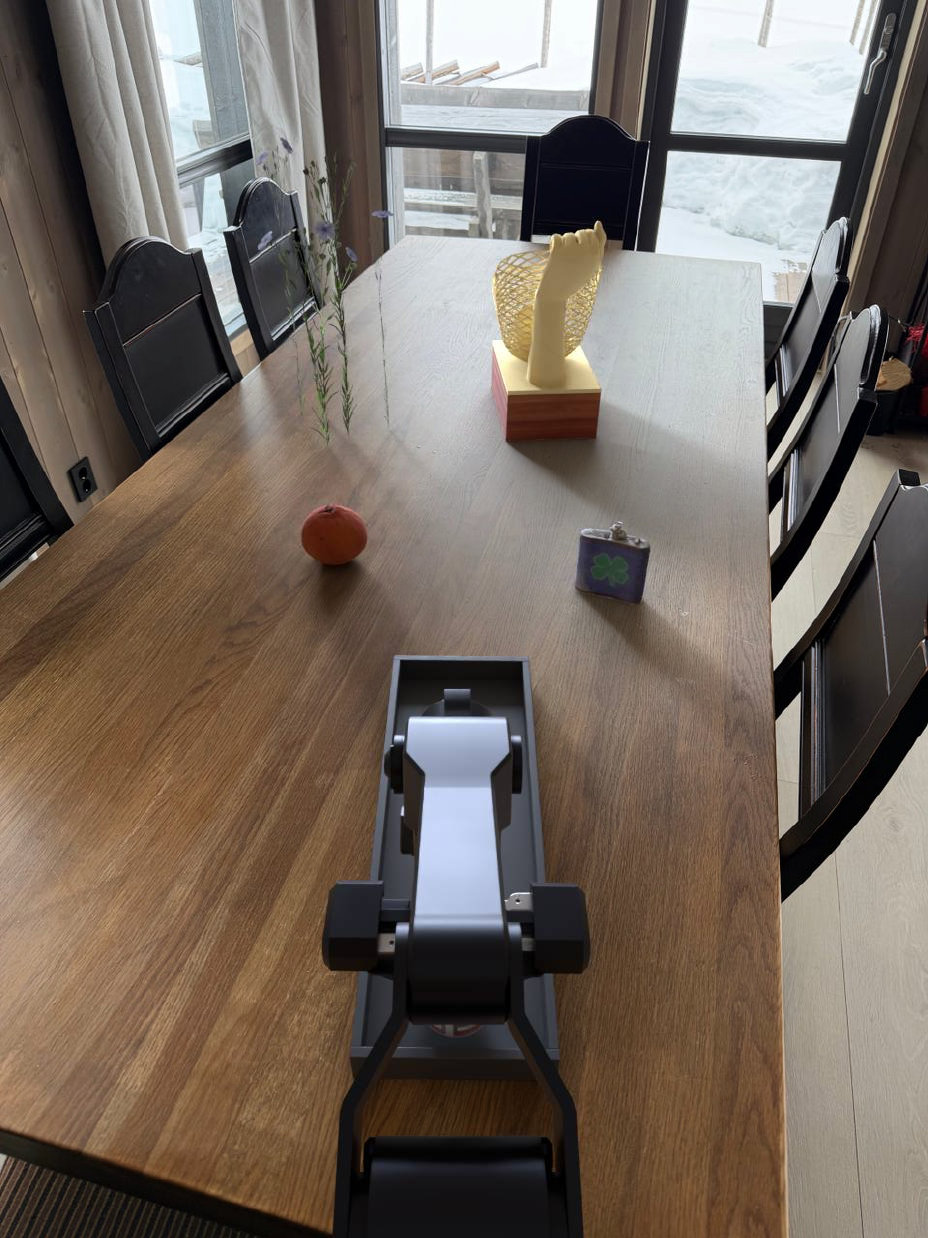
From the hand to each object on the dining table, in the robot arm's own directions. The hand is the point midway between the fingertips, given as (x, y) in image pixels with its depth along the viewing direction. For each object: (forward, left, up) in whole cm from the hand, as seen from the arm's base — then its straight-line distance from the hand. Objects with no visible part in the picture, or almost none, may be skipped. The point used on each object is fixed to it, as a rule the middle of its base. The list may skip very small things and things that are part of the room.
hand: (456, 986), depth 67 cm
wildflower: (+106, -22, -5) cm, 108 cm away
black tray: (+16, -7, -4) cm, 18 cm away
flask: (+45, -41, -5) cm, 61 cm away
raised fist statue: (+98, -58, -5) cm, 114 cm away
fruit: (+67, -10, -5) cm, 68 cm away
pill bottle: (0, 0, -3) cm, 3 cm away
